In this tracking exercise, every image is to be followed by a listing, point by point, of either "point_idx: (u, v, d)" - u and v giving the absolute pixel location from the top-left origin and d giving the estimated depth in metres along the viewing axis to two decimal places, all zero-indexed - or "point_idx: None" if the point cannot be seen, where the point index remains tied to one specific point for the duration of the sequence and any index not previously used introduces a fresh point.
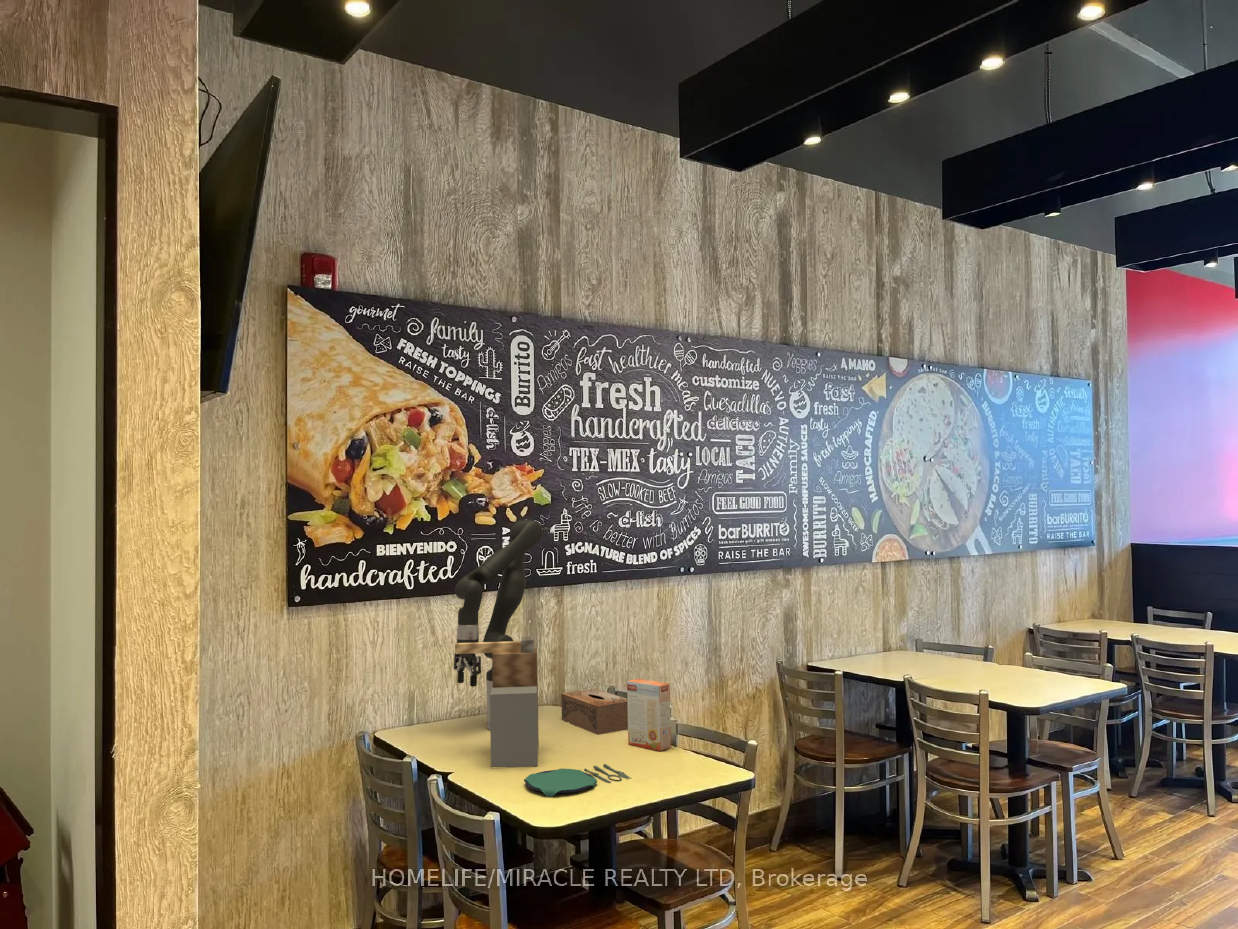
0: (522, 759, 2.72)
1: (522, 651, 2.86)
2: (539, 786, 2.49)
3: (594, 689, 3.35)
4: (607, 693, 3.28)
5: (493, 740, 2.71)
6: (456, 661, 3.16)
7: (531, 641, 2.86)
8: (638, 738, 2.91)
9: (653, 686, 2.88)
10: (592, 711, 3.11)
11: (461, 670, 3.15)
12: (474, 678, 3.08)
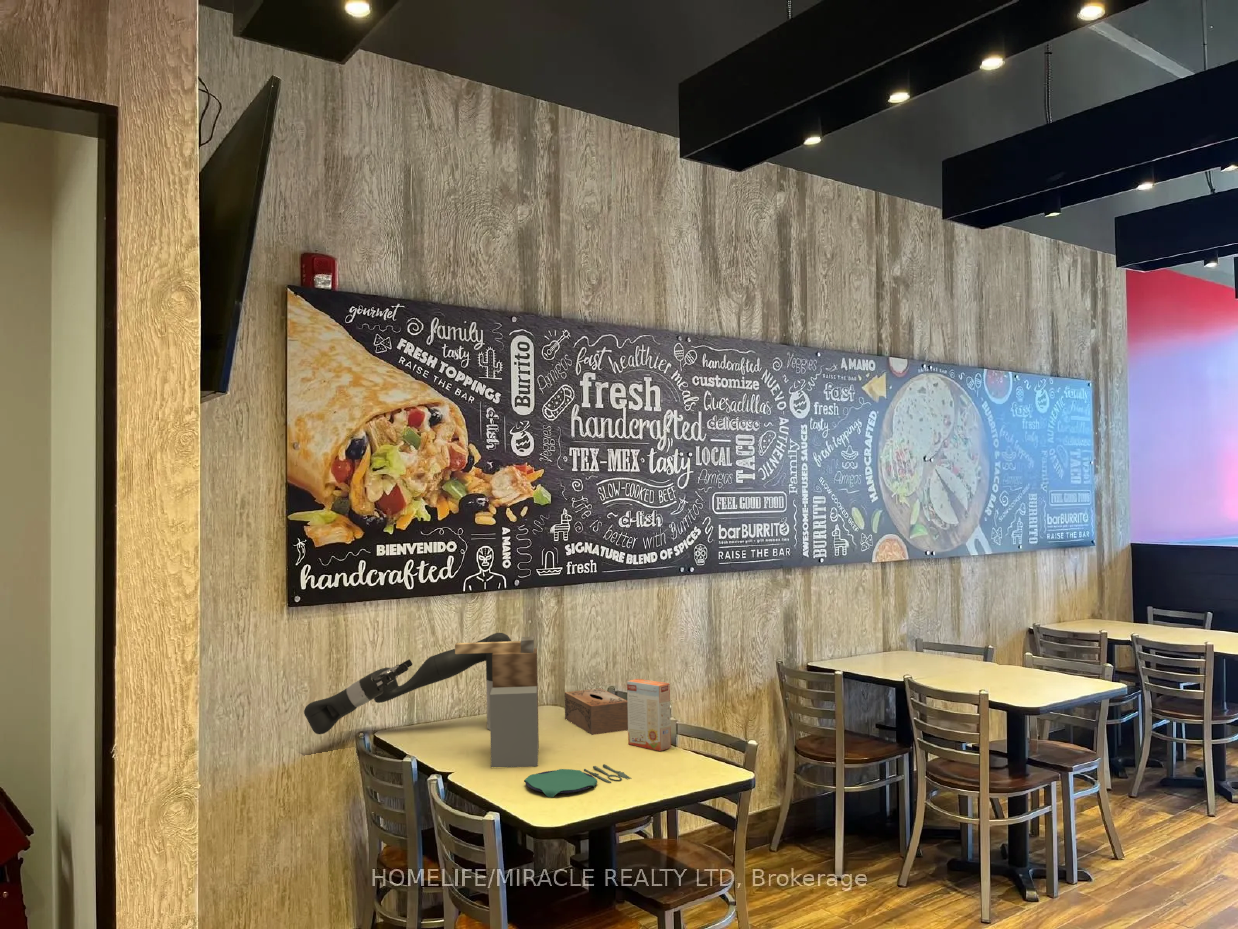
0: (522, 759, 2.72)
1: (522, 651, 2.86)
2: (539, 787, 2.49)
3: (599, 689, 3.36)
4: (609, 693, 3.27)
5: (493, 740, 2.71)
6: None
7: (531, 641, 2.86)
8: (638, 738, 2.91)
9: (653, 686, 2.88)
10: (587, 711, 3.11)
11: None
12: None
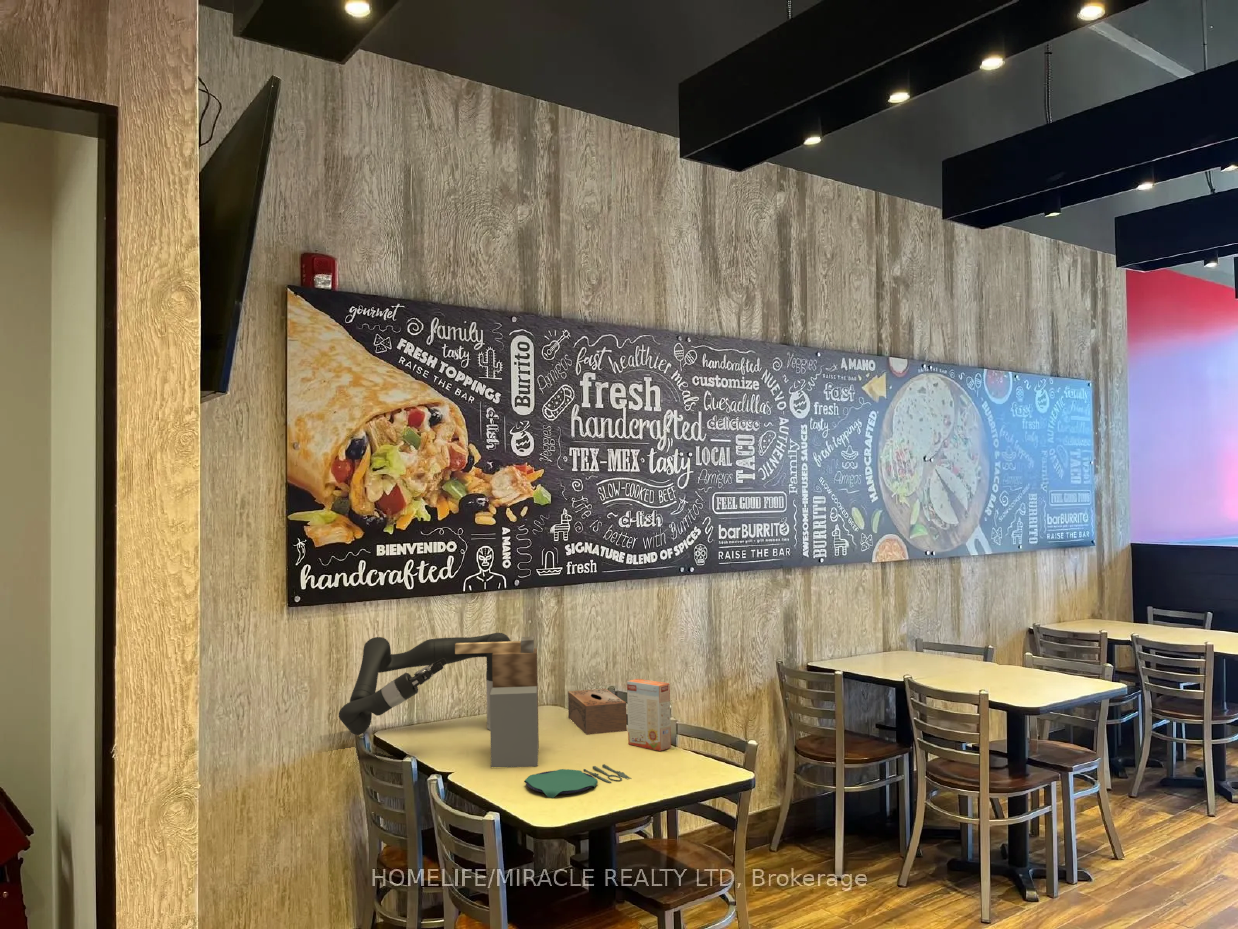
0: (522, 759, 2.72)
1: (522, 651, 2.86)
2: (540, 787, 2.49)
3: (603, 689, 3.35)
4: (610, 694, 3.27)
5: (493, 740, 2.71)
6: None
7: (531, 641, 2.86)
8: (638, 738, 2.91)
9: (653, 686, 2.88)
10: (583, 711, 3.11)
11: None
12: None
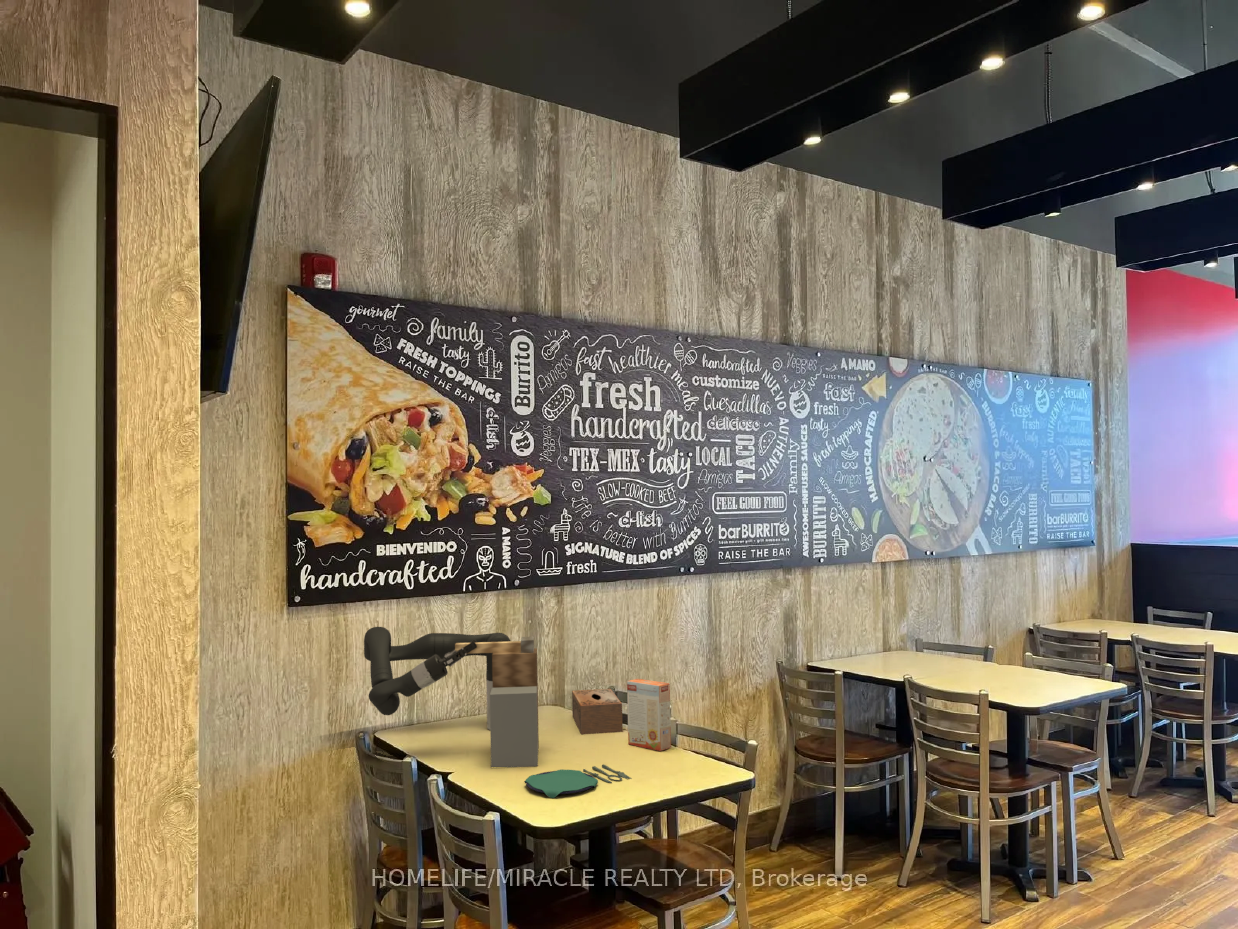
0: (522, 759, 2.72)
1: (522, 651, 2.86)
2: (540, 787, 2.48)
3: (607, 689, 3.35)
4: (612, 694, 3.26)
5: (493, 740, 2.71)
6: None
7: (531, 641, 2.86)
8: (638, 738, 2.91)
9: (653, 686, 2.88)
10: (579, 710, 3.12)
11: None
12: None
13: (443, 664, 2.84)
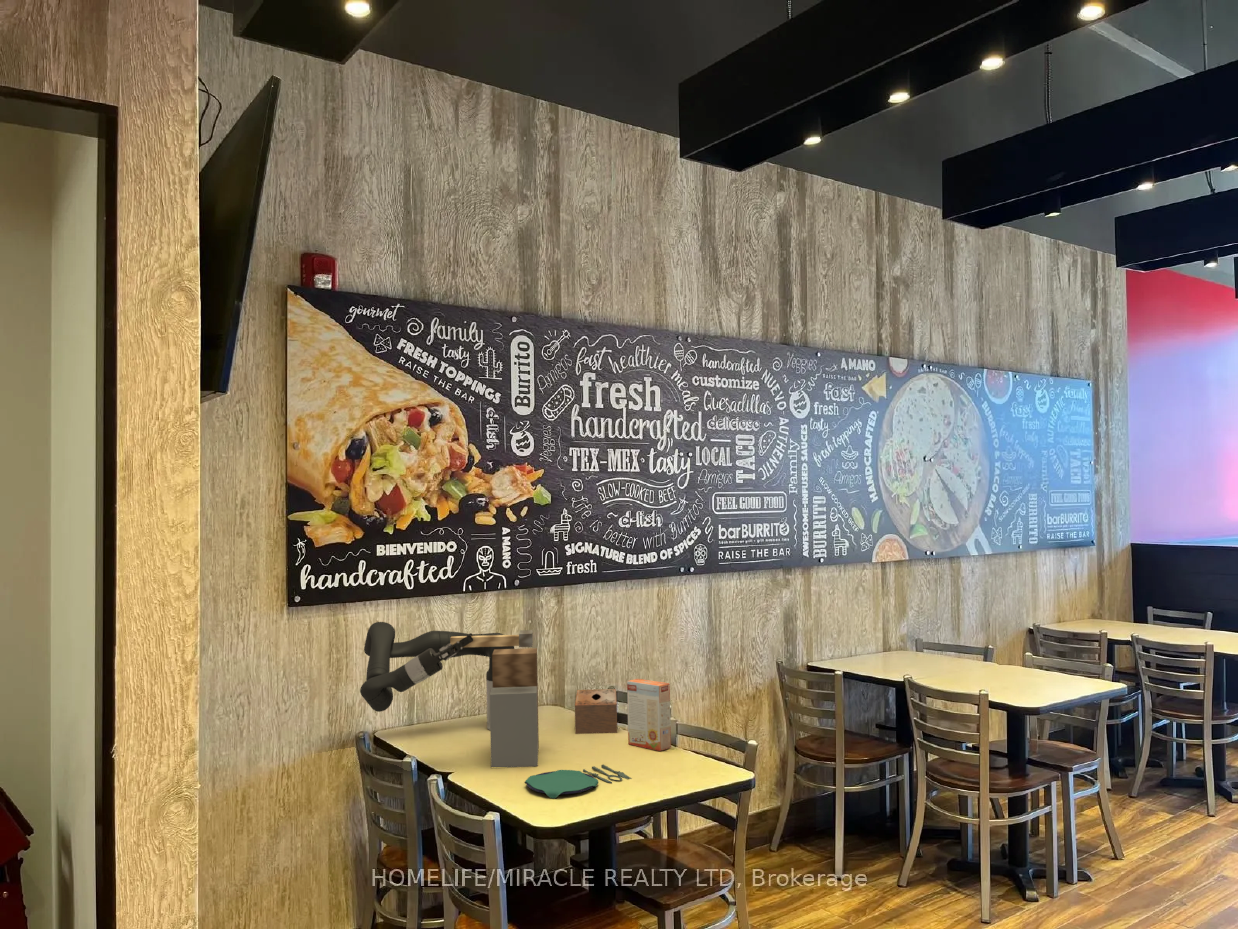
0: (522, 759, 2.72)
1: (520, 645, 2.74)
2: (541, 788, 2.48)
3: (612, 689, 3.34)
4: (613, 695, 3.25)
5: (493, 740, 2.71)
6: None
7: (530, 635, 2.75)
8: (638, 738, 2.91)
9: (653, 686, 2.88)
10: None
11: None
12: None
13: (438, 658, 2.73)
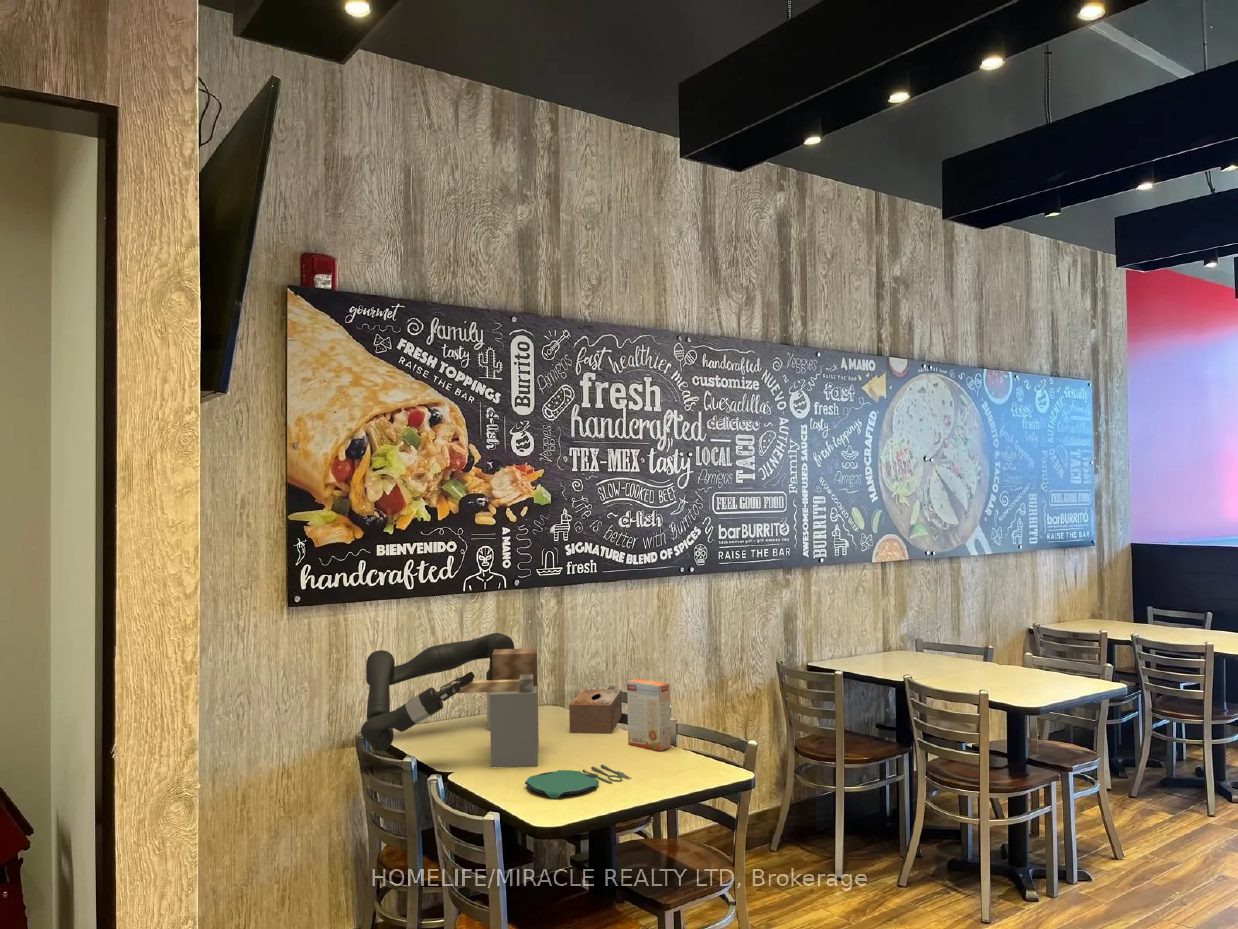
0: (522, 759, 2.72)
1: (521, 691, 2.74)
2: (541, 788, 2.47)
3: (617, 690, 3.33)
4: (614, 695, 3.24)
5: (493, 740, 2.71)
6: None
7: (530, 680, 2.74)
8: (638, 738, 2.91)
9: (653, 686, 2.88)
10: None
11: None
12: None
13: (439, 698, 2.72)
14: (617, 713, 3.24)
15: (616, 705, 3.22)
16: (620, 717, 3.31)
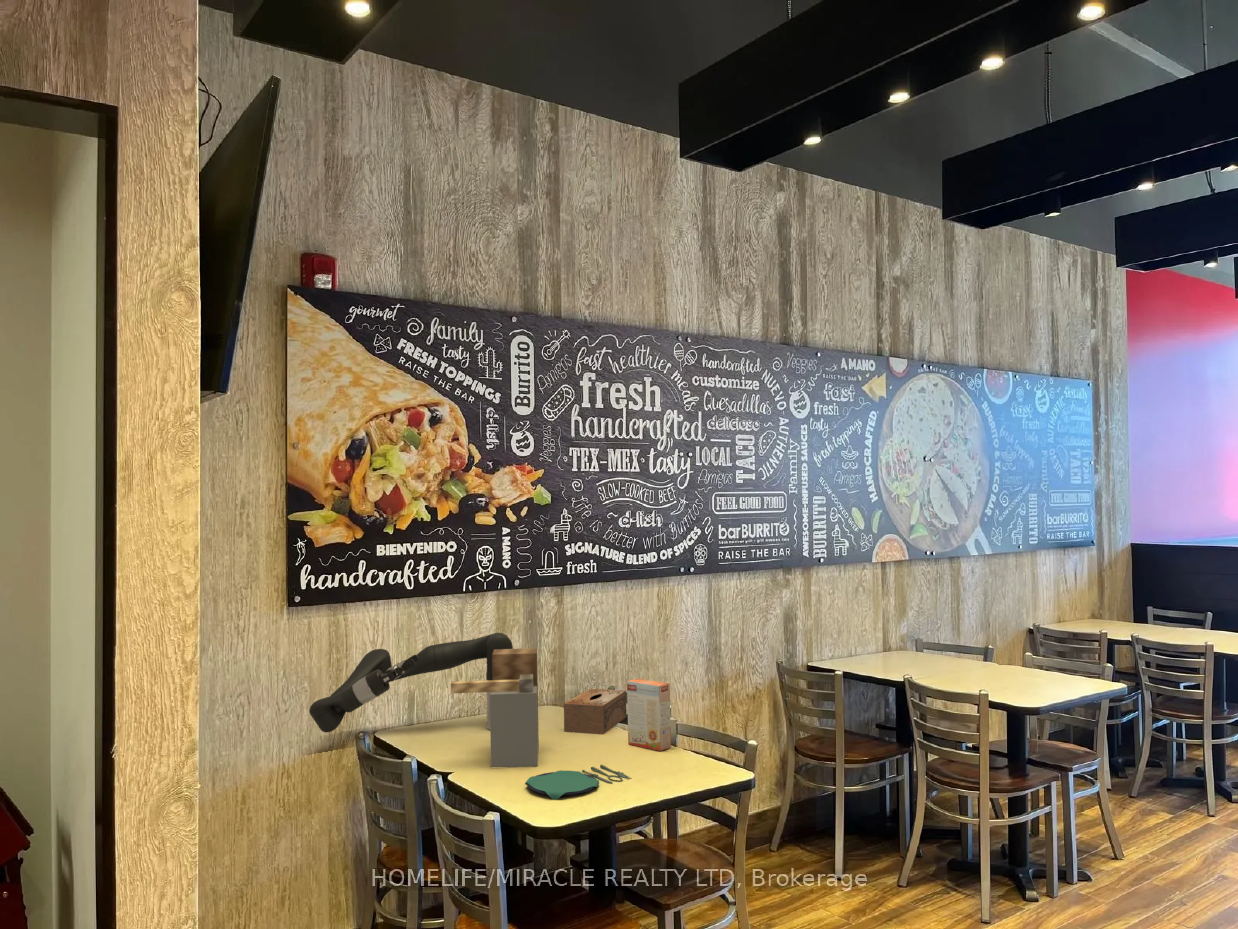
0: (522, 759, 2.72)
1: (521, 691, 2.74)
2: (542, 789, 2.47)
3: (621, 691, 3.32)
4: (614, 696, 3.23)
5: (493, 740, 2.71)
6: None
7: (530, 680, 2.74)
8: (638, 738, 2.91)
9: (653, 686, 2.88)
10: None
11: None
12: None
13: None
14: (617, 714, 3.23)
15: (615, 706, 3.21)
16: (623, 718, 3.29)
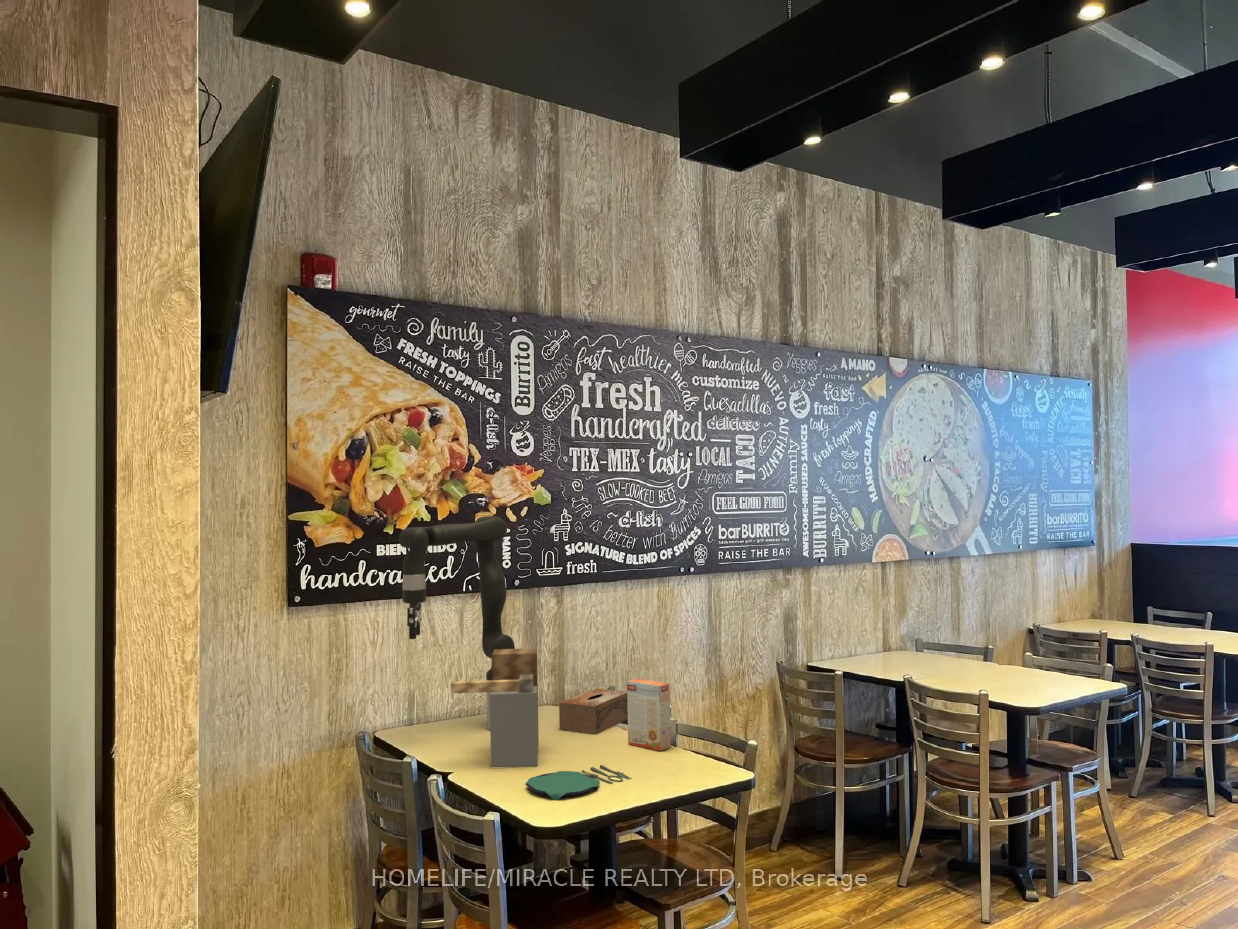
0: (522, 759, 2.72)
1: (521, 691, 2.74)
2: (543, 789, 2.46)
3: (624, 692, 3.30)
4: (613, 697, 3.22)
5: (493, 740, 2.71)
6: None
7: (530, 680, 2.74)
8: (638, 738, 2.91)
9: (653, 686, 2.88)
10: None
11: None
12: None
13: (412, 606, 2.94)
14: (616, 715, 3.21)
15: (613, 707, 3.20)
16: (625, 719, 3.27)
